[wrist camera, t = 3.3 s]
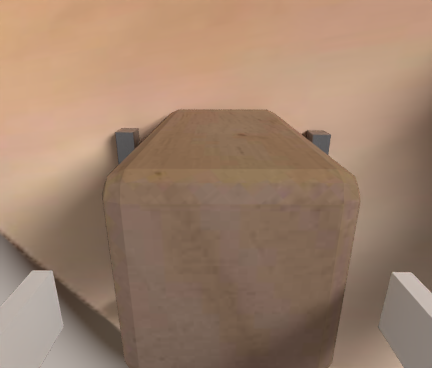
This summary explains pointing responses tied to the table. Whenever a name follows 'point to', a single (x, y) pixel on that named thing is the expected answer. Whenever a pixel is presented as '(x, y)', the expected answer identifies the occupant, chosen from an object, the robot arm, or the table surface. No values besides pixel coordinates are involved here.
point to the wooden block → (229, 244)
